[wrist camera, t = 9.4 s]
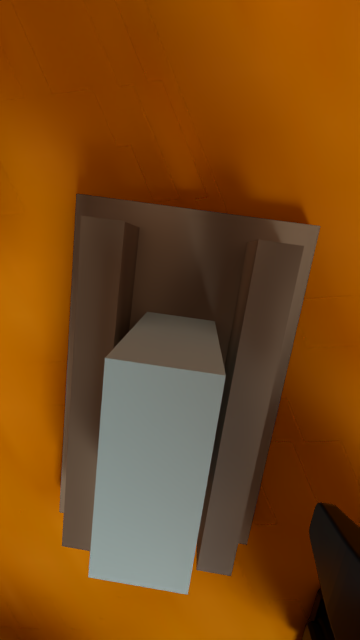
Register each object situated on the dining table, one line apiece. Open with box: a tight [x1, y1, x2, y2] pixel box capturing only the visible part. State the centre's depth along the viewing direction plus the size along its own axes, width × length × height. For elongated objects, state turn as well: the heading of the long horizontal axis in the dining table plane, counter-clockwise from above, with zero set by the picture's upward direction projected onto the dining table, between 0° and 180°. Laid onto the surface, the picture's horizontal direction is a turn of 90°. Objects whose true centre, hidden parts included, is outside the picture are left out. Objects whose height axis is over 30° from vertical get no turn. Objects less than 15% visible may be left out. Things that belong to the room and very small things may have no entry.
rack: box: [60, 194, 320, 576], centre depth 13 cm, size 10×16×4 cm, turn 172°
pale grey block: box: [88, 312, 226, 594], centre depth 11 cm, size 3×7×6 cm, turn 173°
